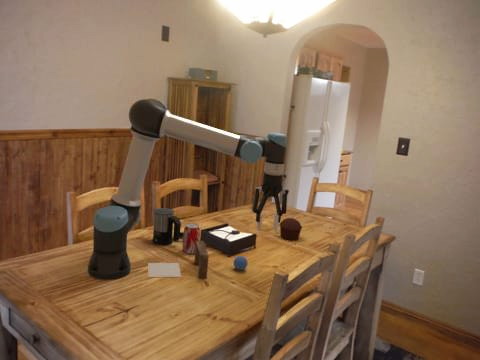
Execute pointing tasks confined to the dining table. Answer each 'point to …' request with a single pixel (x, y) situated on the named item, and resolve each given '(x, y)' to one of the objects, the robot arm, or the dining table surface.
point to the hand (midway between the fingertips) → (267, 229)
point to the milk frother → (166, 227)
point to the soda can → (190, 237)
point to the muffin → (290, 229)
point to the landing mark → (163, 270)
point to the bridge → (201, 259)
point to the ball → (240, 263)
